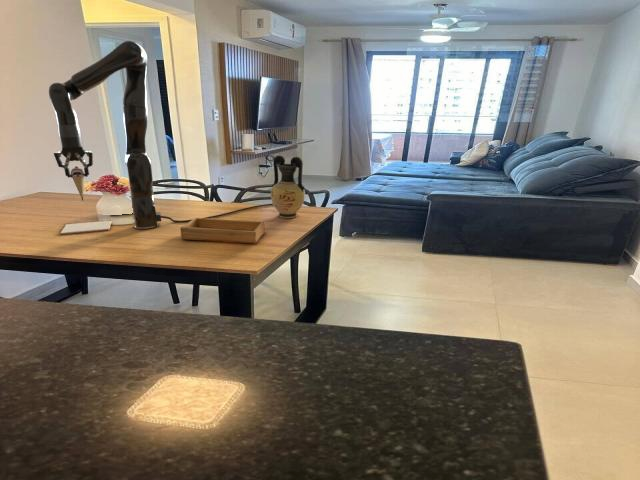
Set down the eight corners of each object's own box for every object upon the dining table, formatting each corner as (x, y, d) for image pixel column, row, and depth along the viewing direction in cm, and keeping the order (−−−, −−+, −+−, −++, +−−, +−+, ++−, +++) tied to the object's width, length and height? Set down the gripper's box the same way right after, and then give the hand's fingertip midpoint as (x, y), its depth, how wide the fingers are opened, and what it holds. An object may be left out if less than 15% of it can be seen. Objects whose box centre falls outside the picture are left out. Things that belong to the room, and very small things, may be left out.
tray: (264, 233, 166) (264, 220, 164) (255, 244, 152) (255, 231, 150) (196, 230, 168) (195, 217, 167) (181, 240, 154) (180, 227, 152)
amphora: (308, 212, 200) (308, 154, 190) (301, 221, 184) (301, 158, 175) (275, 210, 203) (274, 153, 193) (266, 219, 187) (264, 157, 177)
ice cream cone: (79, 203, 161) (72, 167, 156) (72, 201, 163) (65, 166, 159) (93, 200, 165) (86, 166, 160) (85, 199, 168) (79, 164, 163)
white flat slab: (111, 220, 179) (111, 219, 179) (108, 230, 165) (108, 229, 165) (66, 224, 172) (66, 223, 172) (60, 234, 158) (59, 233, 158)
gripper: (47, 136, 150) (56, 179, 155) (89, 136, 155) (96, 177, 161) (51, 135, 156) (59, 176, 161) (91, 135, 162) (98, 174, 167)
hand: (78, 176), depth 161 cm, fingers closed on ice cream cone, 5 cm apart
